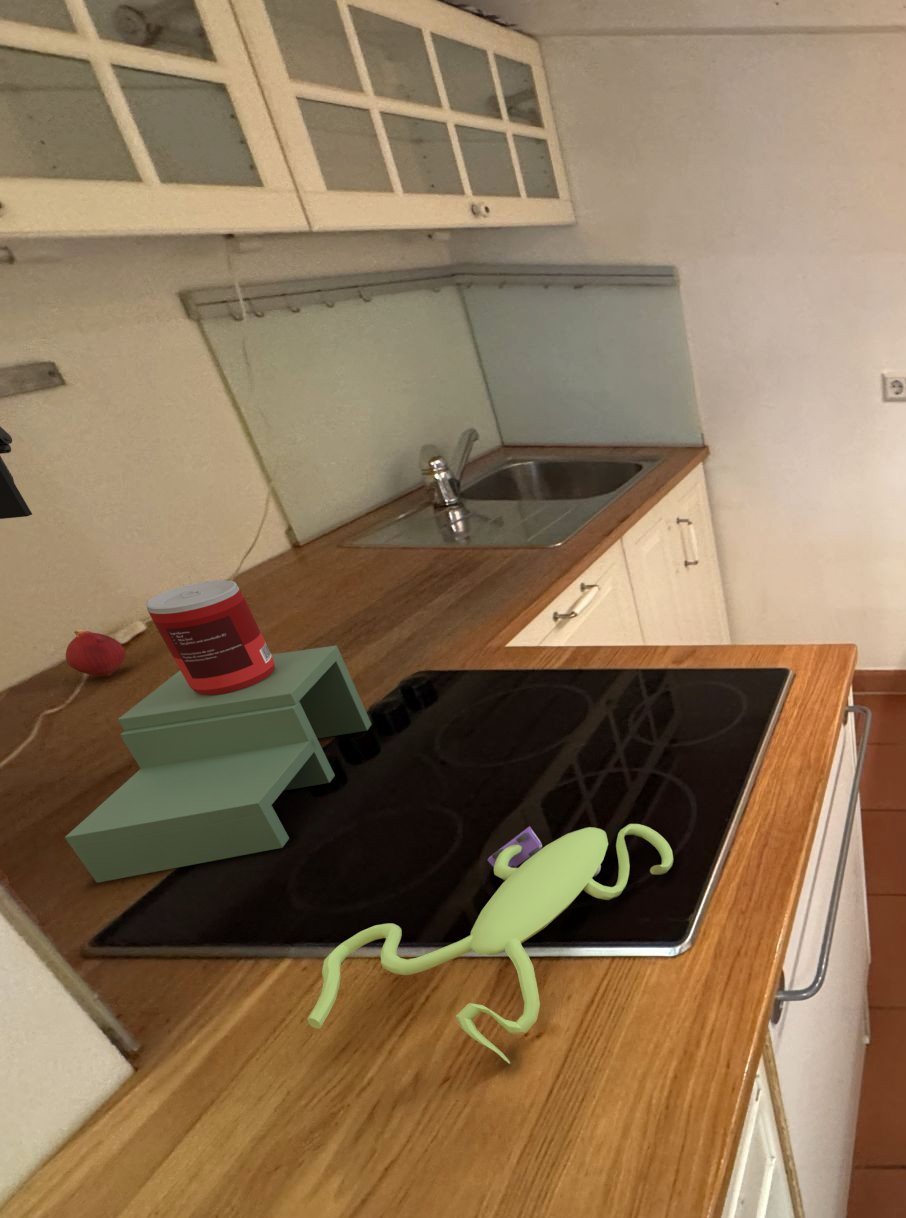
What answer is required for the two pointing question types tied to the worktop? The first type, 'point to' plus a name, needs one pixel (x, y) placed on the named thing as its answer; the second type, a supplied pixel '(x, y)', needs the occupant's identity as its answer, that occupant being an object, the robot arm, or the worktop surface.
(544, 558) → the worktop surface
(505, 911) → the figurine
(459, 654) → the worktop surface
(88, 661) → the onion
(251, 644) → the canned food
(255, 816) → the step rack
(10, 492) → the robot arm
